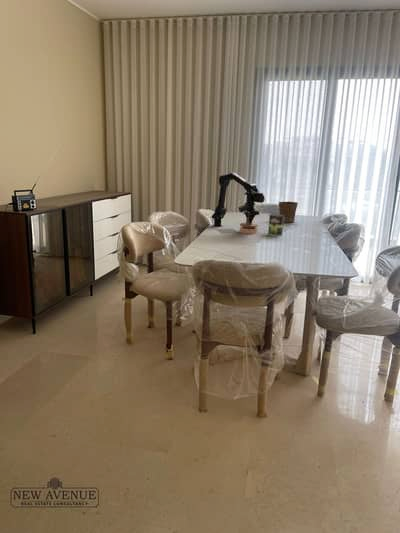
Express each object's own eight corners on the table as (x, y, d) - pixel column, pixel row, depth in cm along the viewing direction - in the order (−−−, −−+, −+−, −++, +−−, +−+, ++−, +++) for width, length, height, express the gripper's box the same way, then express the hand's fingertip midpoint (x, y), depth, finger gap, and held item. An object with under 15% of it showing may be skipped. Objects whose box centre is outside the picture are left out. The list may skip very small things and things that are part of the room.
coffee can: (280, 236, 274) (281, 216, 270) (266, 234, 278) (267, 215, 274) (284, 233, 282) (285, 214, 278) (270, 232, 287) (272, 213, 283)
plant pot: (275, 222, 325) (277, 203, 321) (277, 219, 340) (279, 201, 336) (295, 224, 321) (297, 204, 316) (296, 220, 336) (298, 202, 331)
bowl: (237, 231, 289) (238, 226, 288) (252, 230, 293) (252, 225, 292) (244, 234, 278) (244, 229, 277) (259, 233, 282) (260, 228, 281)
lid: (237, 224, 288) (237, 216, 286) (252, 223, 292) (253, 215, 290) (244, 227, 276) (245, 219, 274) (261, 226, 280) (261, 218, 278)
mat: (215, 229, 291) (215, 229, 291) (232, 229, 296) (232, 228, 296) (222, 233, 279) (222, 233, 279) (239, 232, 283) (239, 232, 283)
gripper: (234, 200, 285) (233, 221, 289) (245, 203, 268) (244, 225, 272) (248, 199, 288) (247, 220, 293) (260, 203, 271) (258, 225, 276)
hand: (249, 222), depth 283 cm, fingers closed on lid, 3 cm apart
